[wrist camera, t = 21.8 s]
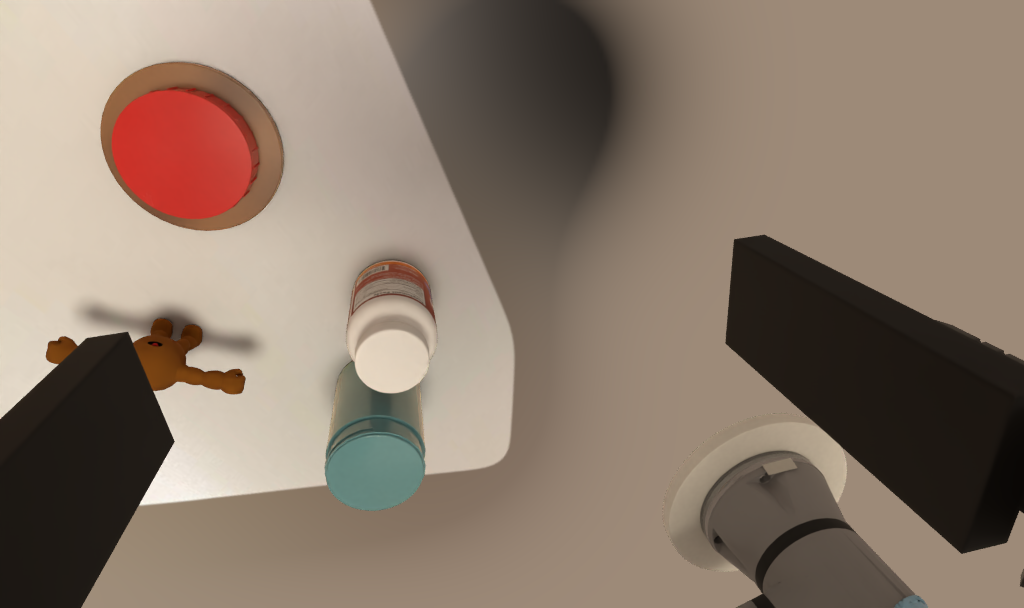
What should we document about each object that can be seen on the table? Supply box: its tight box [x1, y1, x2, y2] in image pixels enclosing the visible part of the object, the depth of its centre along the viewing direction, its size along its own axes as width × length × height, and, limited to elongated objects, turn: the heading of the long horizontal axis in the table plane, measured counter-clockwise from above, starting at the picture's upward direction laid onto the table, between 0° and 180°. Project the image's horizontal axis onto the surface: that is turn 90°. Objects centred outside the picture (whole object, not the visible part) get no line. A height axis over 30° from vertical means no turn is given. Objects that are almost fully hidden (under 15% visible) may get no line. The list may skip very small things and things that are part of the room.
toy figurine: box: [46, 318, 246, 394], centre depth 40 cm, size 12×4×7 cm, turn 70°
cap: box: [112, 87, 260, 219], centre depth 37 cm, size 8×8×2 cm
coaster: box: [101, 62, 284, 231], centre depth 38 cm, size 11×11×1 cm
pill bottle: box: [346, 260, 437, 393], centre depth 41 cm, size 6×6×11 cm
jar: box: [325, 361, 425, 511], centre depth 44 cm, size 7×7×11 cm
